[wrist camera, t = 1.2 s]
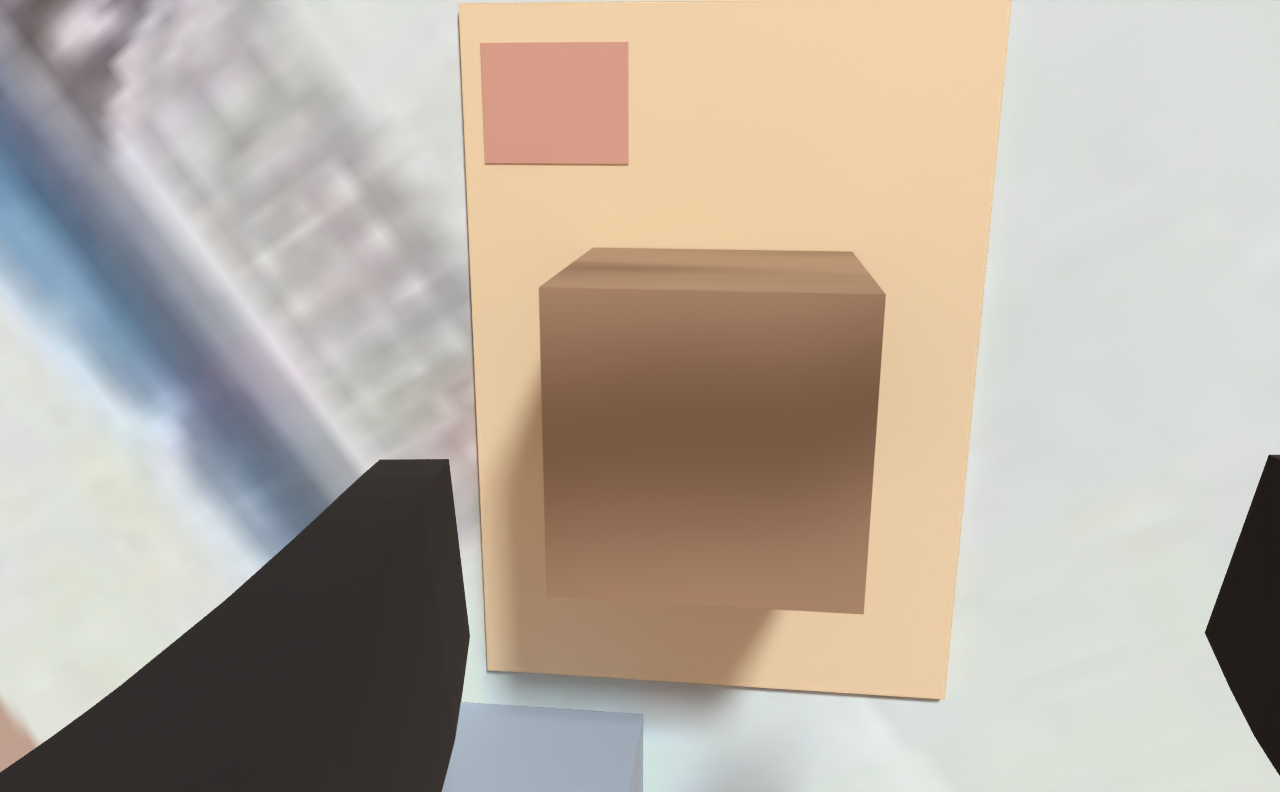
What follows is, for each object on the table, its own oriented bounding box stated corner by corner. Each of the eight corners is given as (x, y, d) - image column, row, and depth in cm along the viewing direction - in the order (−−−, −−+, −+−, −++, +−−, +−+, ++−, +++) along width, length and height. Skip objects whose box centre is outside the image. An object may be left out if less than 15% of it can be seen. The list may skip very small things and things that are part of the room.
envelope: (943, 695, 21) (945, 700, 21) (489, 666, 22) (487, 670, 22) (1009, -2, 17) (1012, -4, 17) (461, 4, 18) (457, 3, 18)
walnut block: (837, 498, 20) (863, 614, 15) (595, 487, 20) (546, 597, 16) (852, 251, 19) (886, 294, 14) (592, 247, 19) (538, 287, 14)
